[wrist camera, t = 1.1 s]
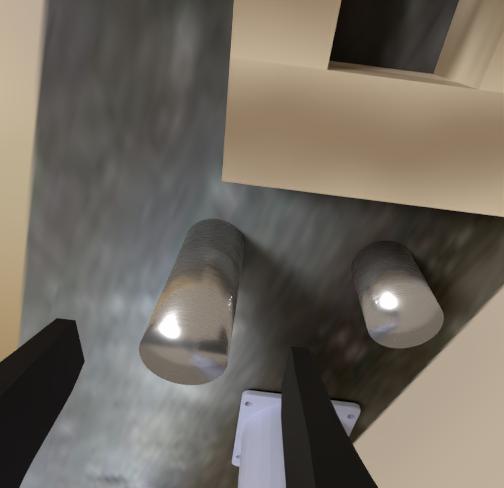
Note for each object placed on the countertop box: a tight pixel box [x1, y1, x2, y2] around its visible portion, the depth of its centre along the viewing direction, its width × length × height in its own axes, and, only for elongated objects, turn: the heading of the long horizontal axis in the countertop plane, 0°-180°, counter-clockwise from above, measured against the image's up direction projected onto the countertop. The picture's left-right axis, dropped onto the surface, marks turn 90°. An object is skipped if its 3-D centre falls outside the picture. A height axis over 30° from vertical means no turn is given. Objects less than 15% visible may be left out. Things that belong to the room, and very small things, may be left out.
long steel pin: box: [139, 219, 245, 385], centre depth 15 cm, size 3×3×7 cm
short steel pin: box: [351, 241, 444, 348], centre depth 16 cm, size 3×3×4 cm
